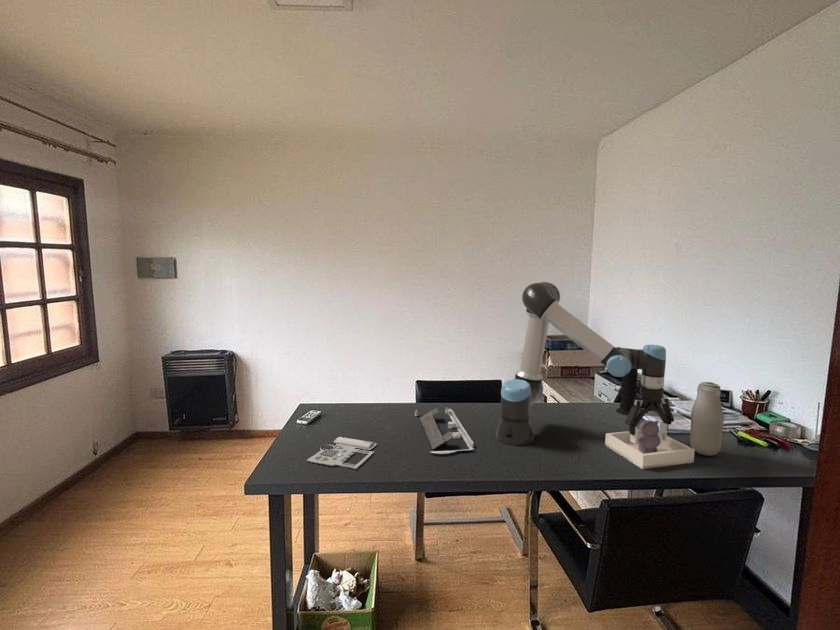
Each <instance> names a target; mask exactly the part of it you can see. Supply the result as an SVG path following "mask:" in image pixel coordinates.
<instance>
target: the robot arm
mask: <svg viewBox="0 0 840 630" xmlns="http://www.w3.org/2000/svg"><path fill="white" fill-rule="evenodd" d="M521 300H522V303H523V305H524V307H525V308H526V310H525V313H526V314H527V315H528V319H527V326H526V332H525V337H524V344H523V349H522V356H521V361H520V366H519V367H520V368H519V369H518V370H516V371H515V375H514V379H513V378H512V379H511V380H510V379H509V380H506V381H504V382H503V383H502V386H501V389H500V420H499V423H498V425H497V427H496V432H495V438H496V439H497V440H498V441H499V442H501V443H504V444H508V445H513V446H524V445H529V444H531V443H532V442H533V441H534V432H533V428H532V425H531V422H530V414H531V413H530V412H531V408H530V407H531V406H532V405H534V404H535V403H536V402H538V401H539V400H540V398H541V397H542V395H543V392H544V386H543V378H544V376H543V375H542V374H541V371H542V363H543V358H544V353H545V347H546V341H547V337H548V330H549V325H552V327H554V328H555V329H557V330H558V331H559V332H561V334H563V335H565V337H567V338H568V339H569V340H571V341H572V342H573V343H575V344H576V345H577V346H579V347H580V348H581V349H583V350H584V351H585V352H586V353H588V354H589V355H590V356H592V357H593V358H595V360H597V361H598V362H599V363H601V364H602V365H603V366H605V368H606V370H607V372H608V373H609V374H610V375H611V376H613V377H617V378H622V376H625V375H626V374H627V373H629V372H630V370H631V368H632V369H637V370H641V376H640V391H639V394H640V397H641V398H640V399H637V398H636V399H634V400H633V406H632V408H631V410H630V412H629V414H628V415H626V416H627V417H626V419H625V422H624V424H625V425H627V426H629V429H628V431H629V433H630V434H631V435H630V441H631V442H632V443H634V444H637V436H638V430H639V426H638V424H640V423H641V420H642V419H643V417H644V416H645V414H647V413H649V412H656V414H657V415H658V416H659V418H660V420H661V421H660V422H659V432H660V433H659V437H660V439H662V440H664V441H666V439H667V436H668V431H669V427H670V425H672V422H674V421H675V419H674V416H673V413H672V410H671V407H670V400H669V398H666V397H664V388H663V387H664V385H665V374H666V373H665V372H666V362H667V349H666V347H664V346H662V345H660V344H659V345H658V344H645V345H643V347H642V349H637V348H636V349H635V348H626V347H621V346H618V347H617V346H614V345H613V344H612V343H610V342H608V340H606V339H605V338H603V337H602V336H601V335H600V334H598V333H597V332H596V331H594V330H593V329H592V328H590V327H589V326H587V324H585V323H583V321H581V320H579V319H578V318H577V317H576V316H574V315H573V314H572V313H570V312H569V311H568V310H567V309H565V308H564V307H562V306H561V305H560V304H559V303H560V300H561V293H560V290H559V288H558V287H557V286H556V285H555V284H554V283H551V282H547V281H541V282H533V283H531V284H529V285H528V286H526V287H525V289H524V290H523V292H522V296H521Z"/></svg>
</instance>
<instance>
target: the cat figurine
mask: <svg viewBox="0 0 840 630" xmlns="http://www.w3.org/2000/svg"><path fill="white" fill-rule="evenodd" d="M638 430H640V433H639V434H638V436H637V441H638V443H639V444H640V445H639V447H638V450H639V451H640V452H642V453H644V454H647V453H655V452H657V448H656V447H657V446H659V445H660V442H661V440H660V437H659V436H658V435H657V434H658V433H659V432H660V425H659V420H655V421H654V420H651V419H649V420H646V419H645V420H644V421H640V423H639V426H638Z"/></svg>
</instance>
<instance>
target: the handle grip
mask: <svg viewBox="0 0 840 630" xmlns="http://www.w3.org/2000/svg"><path fill="white" fill-rule="evenodd" d="M638 371H639V369H632V368H631V370H630V372H629V373H627V374H626V375H625V376H622V377H621V383H620V387H621V388H620V398H619V399H620V400H619V401H620V403H619V407H618V408H616V410H615V412H617V413H618V414H620V415H622V416H624V415H625V416H628V414H629V412H630V410H631V408H632V406H633V400H634V399H636V400H637V391H638V375H639V372H638Z"/></svg>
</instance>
